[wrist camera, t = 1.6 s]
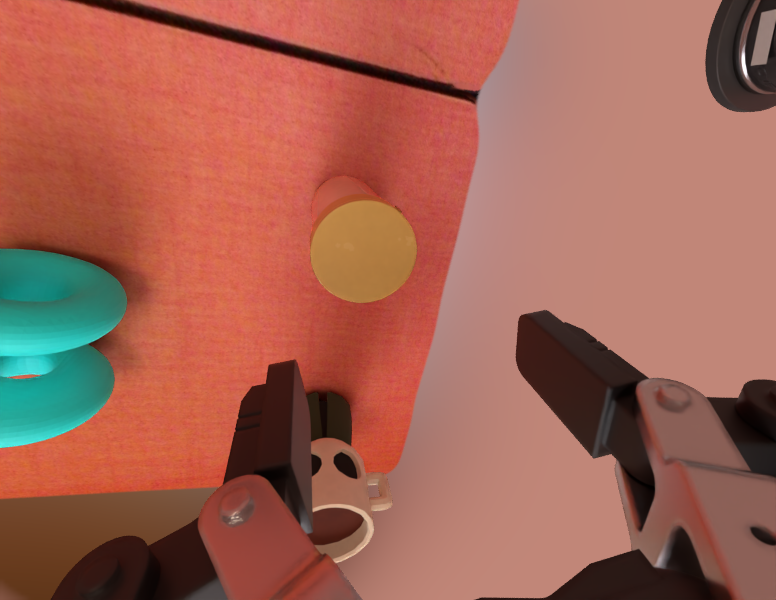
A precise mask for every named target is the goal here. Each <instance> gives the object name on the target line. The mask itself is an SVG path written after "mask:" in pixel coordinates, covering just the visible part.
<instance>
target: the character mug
mask: <svg viewBox="0 0 776 600" xmlns="http://www.w3.org/2000/svg"><path fill="white" fill-rule="evenodd" d="M306 397H307V401H308V406H309V412H310V423H311V466H312V509H313V532H312V533H308V534H307V536H308V537H309V538H310V540H311V541H312V543H313V544H314V545H315V547H316V548H317V549H318V551H319V552H320V553H321V554H324V553H326V554H327V555H329V556H330V557H331V558H332V559H333V561H334V562H335V563H337V562H341V561H343V560H345V559H347V558H349V557H351V556H353V555H355V554H357V553H358V552H359V551H360V550H361V549H362V548H363V547H364V546H366V545H367V544H368V543H369V541H370V539H371V537H372V535H373V532H374V524H373V516H372V511H378V510H385V509H387V508H390V507H391V506H392V501H393V500H392V496H391V492H390V487H389V483H388V479H387V477H386V475H385V473H382V472H372V473H365V468H364V463H363V459H362V458H361V457H360V455H359V454H358V453H357V451H356V450H355V449H354V448H353V447H351V437H352V418H351V411H350V405H349V404H348V403H347V402H346V401H345V400H344V398H343V397H342V396H339V395H337V394H334V393H332V392H327V401H319V397H318V393H317V392H314V393H312V394H309V395H307V396H306ZM368 485H378V489H379V494H380V497H372V498H369V493H368Z"/></svg>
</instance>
